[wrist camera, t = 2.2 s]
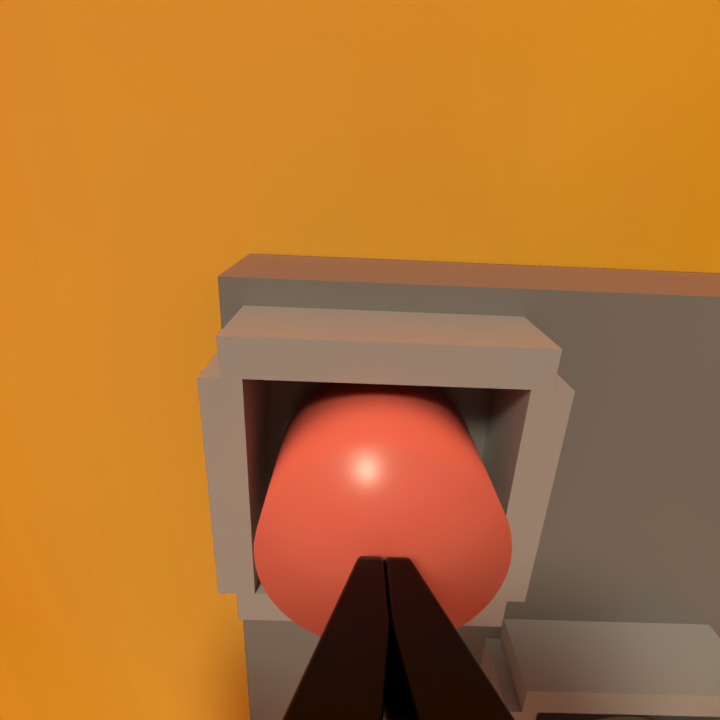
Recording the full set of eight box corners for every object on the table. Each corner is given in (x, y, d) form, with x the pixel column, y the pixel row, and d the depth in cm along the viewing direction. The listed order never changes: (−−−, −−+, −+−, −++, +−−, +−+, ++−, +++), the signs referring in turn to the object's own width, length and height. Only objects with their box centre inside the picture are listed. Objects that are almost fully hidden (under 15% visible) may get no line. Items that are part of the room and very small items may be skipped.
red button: (484, 374, 10) (534, 453, 7) (459, 536, 11) (491, 651, 9) (278, 367, 10) (247, 443, 7) (283, 530, 11) (258, 644, 9)
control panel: (1012, 285, 13) (1391, 348, 8) (778, 691, 19) (914, 858, 14) (250, 254, 12) (183, 300, 8) (269, 678, 19) (240, 845, 14)
